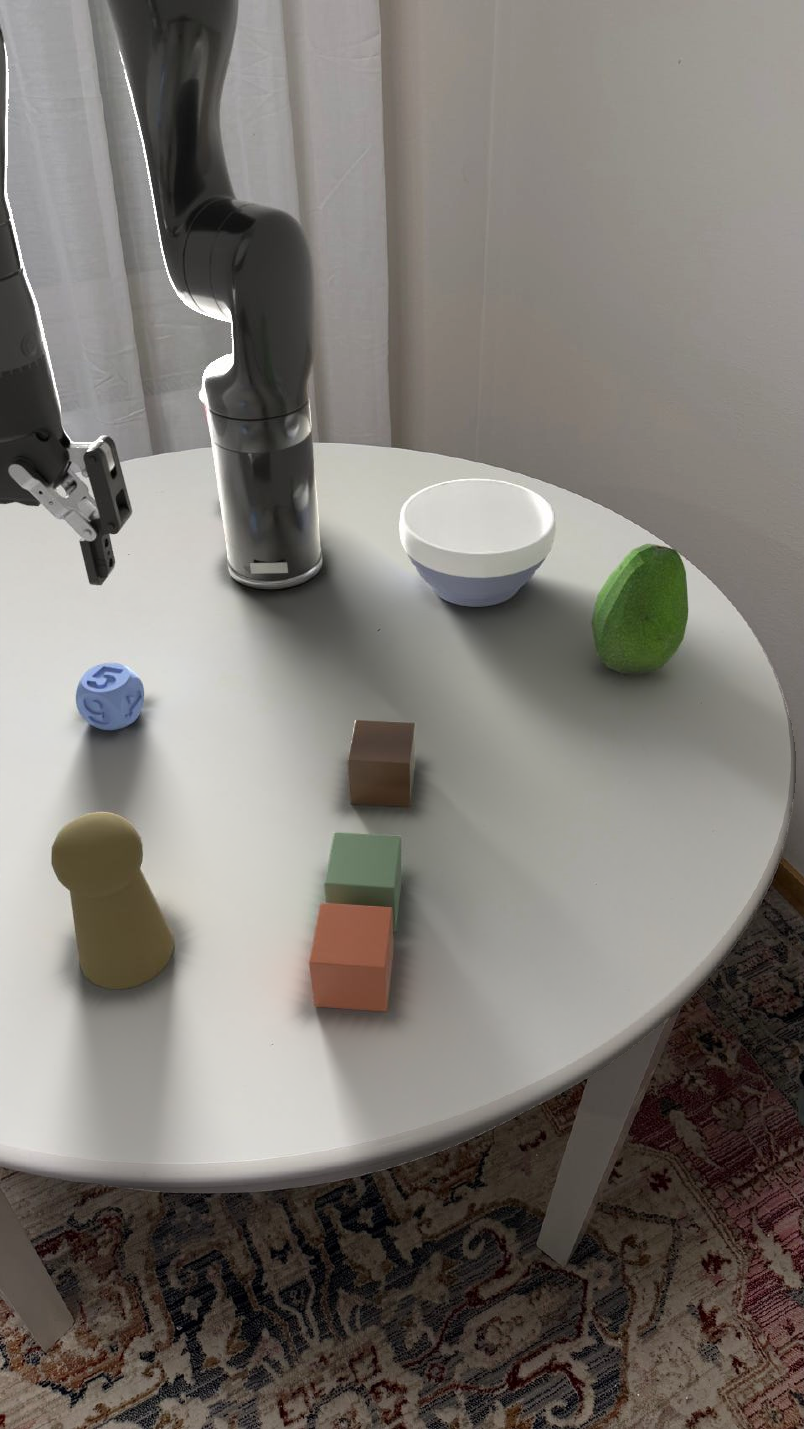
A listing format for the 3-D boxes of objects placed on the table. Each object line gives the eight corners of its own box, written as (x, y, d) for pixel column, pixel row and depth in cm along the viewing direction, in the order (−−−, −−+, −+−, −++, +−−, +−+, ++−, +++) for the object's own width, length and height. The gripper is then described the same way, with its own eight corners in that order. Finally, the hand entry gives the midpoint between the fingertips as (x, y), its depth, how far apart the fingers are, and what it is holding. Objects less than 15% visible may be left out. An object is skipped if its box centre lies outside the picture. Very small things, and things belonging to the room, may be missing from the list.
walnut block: (357, 763, 78) (355, 719, 76) (415, 766, 78) (414, 722, 75) (350, 804, 75) (347, 760, 72) (410, 807, 75) (409, 763, 72)
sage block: (337, 876, 70) (333, 831, 67) (402, 879, 69) (401, 835, 66) (328, 928, 66) (323, 883, 63) (395, 932, 66) (394, 887, 63)
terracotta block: (324, 946, 65) (320, 902, 62) (393, 951, 65) (392, 906, 62) (313, 1006, 62) (308, 962, 59) (386, 1012, 61) (385, 967, 58)
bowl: (539, 543, 103) (545, 475, 99) (560, 624, 92) (568, 553, 87) (398, 547, 103) (397, 479, 98) (402, 629, 92) (401, 557, 87)
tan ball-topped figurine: (87, 916, 67) (47, 799, 60) (178, 909, 68) (149, 792, 61) (72, 993, 63) (27, 877, 56) (169, 985, 63) (138, 869, 56)
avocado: (692, 686, 85) (719, 565, 77) (604, 699, 84) (623, 577, 76) (655, 633, 91) (676, 515, 83) (572, 644, 90) (587, 526, 82)
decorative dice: (148, 704, 84) (139, 666, 82) (125, 734, 81) (116, 696, 79) (105, 696, 85) (95, 658, 83) (81, 726, 82) (70, 688, 80)
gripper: (115, 333, 64) (156, 556, 74) (-93, 324, 66) (-25, 543, 76) (68, 376, 58) (119, 611, 68) (-159, 365, 60) (-76, 596, 70)
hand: (43, 575), depth 72 cm, fingers open, 8 cm apart
